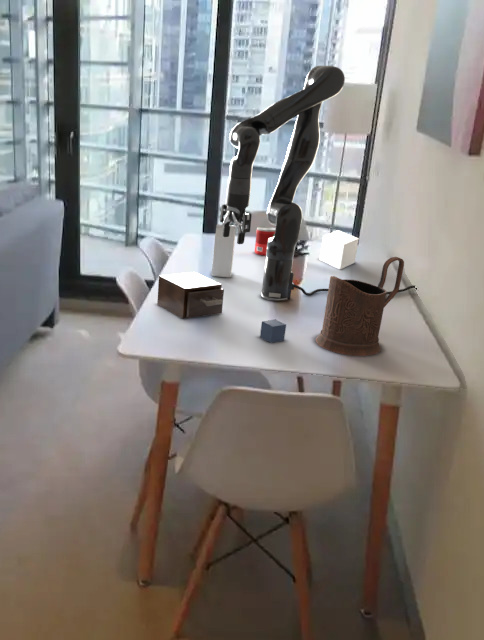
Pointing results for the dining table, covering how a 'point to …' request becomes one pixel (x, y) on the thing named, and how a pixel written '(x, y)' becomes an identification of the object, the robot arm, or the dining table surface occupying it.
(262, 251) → the canned food
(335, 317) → the cup holder
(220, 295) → the drawer
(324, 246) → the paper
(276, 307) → the dining table surface
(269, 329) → the block
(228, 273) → the milk carton
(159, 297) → the cabinet
